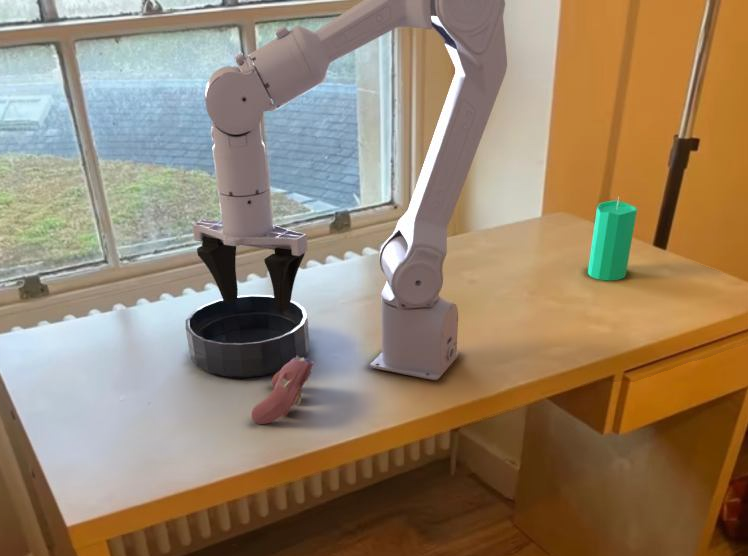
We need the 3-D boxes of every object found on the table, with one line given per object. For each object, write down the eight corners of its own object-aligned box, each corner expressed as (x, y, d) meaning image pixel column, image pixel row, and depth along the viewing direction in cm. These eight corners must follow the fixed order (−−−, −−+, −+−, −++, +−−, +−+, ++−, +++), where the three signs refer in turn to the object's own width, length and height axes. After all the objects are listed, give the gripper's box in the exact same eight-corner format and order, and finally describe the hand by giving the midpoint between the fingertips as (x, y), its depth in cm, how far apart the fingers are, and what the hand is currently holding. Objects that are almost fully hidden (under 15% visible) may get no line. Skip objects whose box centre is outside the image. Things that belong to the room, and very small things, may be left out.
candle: (586, 266, 132) (597, 190, 125) (623, 267, 131) (636, 191, 124) (589, 280, 127) (600, 202, 120) (628, 281, 126) (641, 202, 119)
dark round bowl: (329, 339, 112) (327, 305, 109) (270, 390, 101) (266, 353, 98) (233, 321, 118) (229, 288, 115) (167, 367, 107) (160, 332, 104)
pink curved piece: (281, 439, 94) (303, 394, 90) (246, 421, 94) (266, 375, 89) (303, 398, 102) (324, 355, 98) (271, 382, 101) (291, 337, 97)
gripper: (169, 192, 90) (188, 307, 98) (280, 206, 84) (291, 327, 93) (206, 176, 95) (221, 287, 103) (313, 188, 89) (320, 304, 98)
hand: (256, 304), depth 98 cm, fingers open, 7 cm apart
